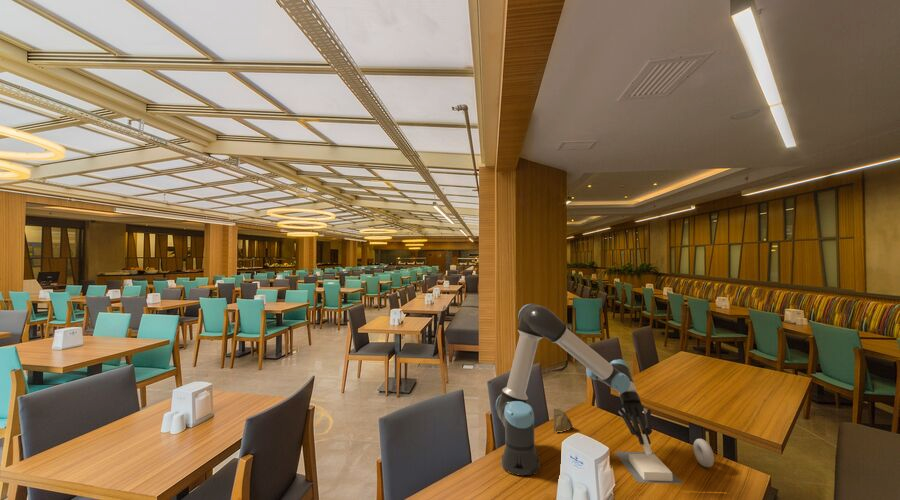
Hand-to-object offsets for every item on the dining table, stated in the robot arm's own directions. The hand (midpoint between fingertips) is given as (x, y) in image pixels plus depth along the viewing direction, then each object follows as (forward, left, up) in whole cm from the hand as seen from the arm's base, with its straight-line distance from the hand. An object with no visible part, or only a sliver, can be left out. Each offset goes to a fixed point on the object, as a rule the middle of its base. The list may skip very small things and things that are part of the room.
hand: (648, 453), depth 137 cm
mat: (-2, +2, -7) cm, 8 cm away
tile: (-5, +4, -5) cm, 8 cm away
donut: (+9, +23, -7) cm, 25 cm away
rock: (-42, 0, -7) cm, 43 cm away
